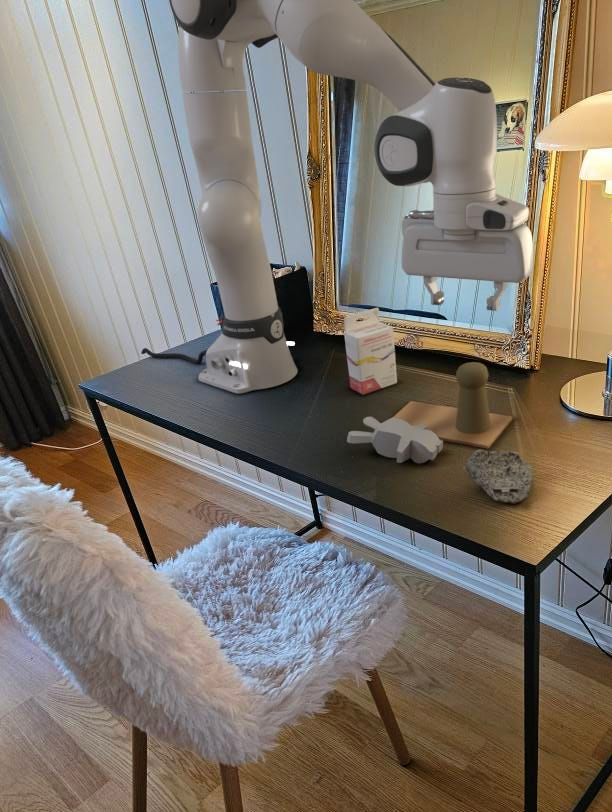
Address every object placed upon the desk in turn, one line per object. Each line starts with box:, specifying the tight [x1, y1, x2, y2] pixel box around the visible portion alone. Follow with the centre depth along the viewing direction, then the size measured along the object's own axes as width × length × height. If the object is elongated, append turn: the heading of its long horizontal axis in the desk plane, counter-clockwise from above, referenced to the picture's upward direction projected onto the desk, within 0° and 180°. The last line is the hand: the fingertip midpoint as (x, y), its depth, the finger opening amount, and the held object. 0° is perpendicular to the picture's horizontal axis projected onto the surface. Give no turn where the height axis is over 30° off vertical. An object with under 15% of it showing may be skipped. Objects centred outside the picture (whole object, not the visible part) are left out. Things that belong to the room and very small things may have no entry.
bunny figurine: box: [346, 416, 444, 464], centre depth 107 cm, size 10×5×15 cm
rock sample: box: [462, 449, 536, 505], centre depth 94 cm, size 10×8×9 cm
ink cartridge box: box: [343, 307, 398, 396], centre depth 127 cm, size 9×5×15 cm, turn 122°
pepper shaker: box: [455, 361, 491, 434], centre depth 109 cm, size 6×6×11 cm
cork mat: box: [392, 400, 514, 450], centre depth 114 cm, size 20×11×1 cm, turn 59°
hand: (464, 306), depth 101 cm, fingers open, 8 cm apart
